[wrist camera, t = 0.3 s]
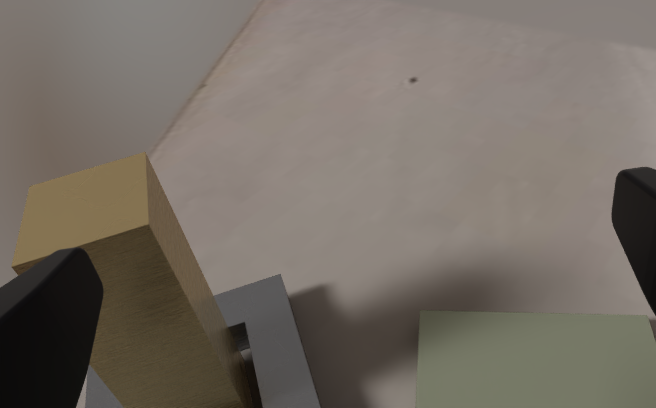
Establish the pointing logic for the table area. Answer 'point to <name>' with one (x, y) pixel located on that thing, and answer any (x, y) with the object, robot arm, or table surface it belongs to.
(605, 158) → the table surface
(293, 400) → the steel rail plate
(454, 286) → the table surface
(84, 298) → the robot arm
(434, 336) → the olive rubber mat
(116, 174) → the brass peg
